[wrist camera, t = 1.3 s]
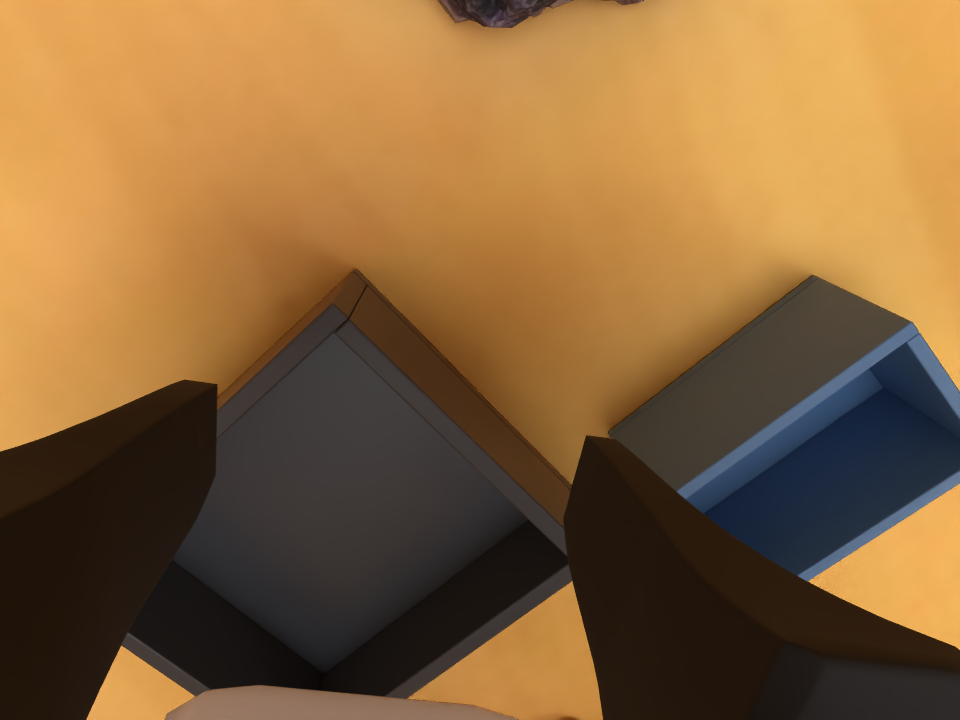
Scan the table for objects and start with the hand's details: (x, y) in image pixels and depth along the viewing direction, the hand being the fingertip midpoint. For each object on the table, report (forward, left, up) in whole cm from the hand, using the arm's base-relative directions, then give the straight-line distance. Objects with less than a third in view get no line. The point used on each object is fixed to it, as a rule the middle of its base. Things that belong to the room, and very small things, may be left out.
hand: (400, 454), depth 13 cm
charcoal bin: (-3, +7, -9) cm, 12 cm away
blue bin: (-10, -6, -9) cm, 15 cm away
